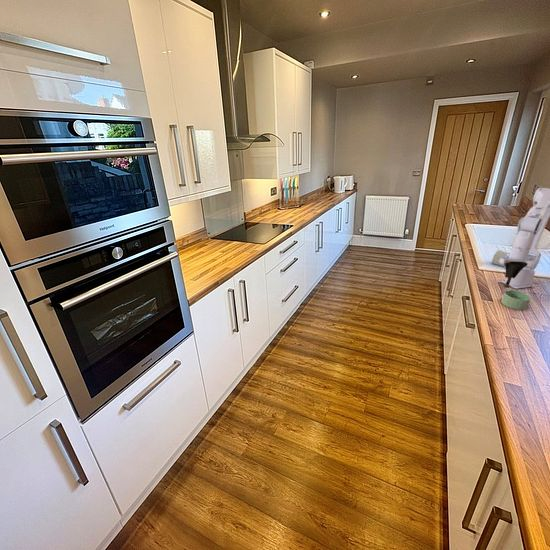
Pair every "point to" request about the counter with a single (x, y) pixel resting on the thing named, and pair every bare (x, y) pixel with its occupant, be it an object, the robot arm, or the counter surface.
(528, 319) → the counter surface
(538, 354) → the counter surface
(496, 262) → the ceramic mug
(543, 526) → the counter surface
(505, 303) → the bowl
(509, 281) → the muddler
